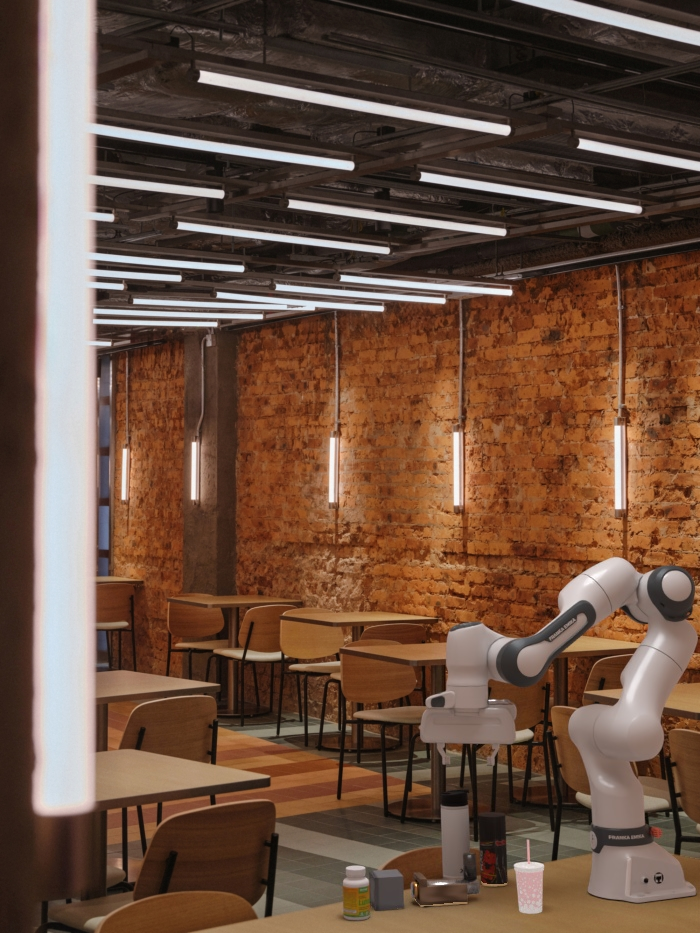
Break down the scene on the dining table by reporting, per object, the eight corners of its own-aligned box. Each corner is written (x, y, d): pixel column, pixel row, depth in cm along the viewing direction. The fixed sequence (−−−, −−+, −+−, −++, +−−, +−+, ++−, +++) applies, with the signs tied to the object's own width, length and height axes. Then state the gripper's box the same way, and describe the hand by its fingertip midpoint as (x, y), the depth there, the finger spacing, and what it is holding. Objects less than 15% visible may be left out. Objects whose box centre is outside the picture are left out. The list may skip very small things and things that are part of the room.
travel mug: (471, 884, 267) (468, 791, 269) (441, 883, 268) (438, 791, 270) (473, 877, 273) (470, 787, 275) (444, 877, 275) (442, 787, 277)
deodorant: (513, 884, 266) (510, 814, 268) (492, 888, 263) (490, 818, 264) (495, 879, 271) (493, 810, 273) (475, 883, 268) (472, 814, 269)
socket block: (397, 900, 255) (397, 869, 255) (404, 908, 248) (403, 876, 249) (369, 902, 254) (369, 871, 254) (375, 910, 247) (374, 878, 248)
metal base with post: (475, 891, 256) (474, 852, 257) (479, 895, 253) (478, 855, 254) (410, 896, 254) (409, 856, 254) (414, 900, 250) (413, 859, 251)
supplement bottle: (361, 922, 239) (360, 871, 240) (338, 918, 242) (337, 869, 243) (375, 915, 244) (373, 866, 245) (352, 912, 247) (351, 863, 248)
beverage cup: (550, 913, 242) (547, 841, 244) (520, 915, 241) (518, 843, 243) (540, 905, 248) (537, 835, 250) (511, 907, 247) (509, 837, 249)
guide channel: (460, 896, 257) (459, 869, 257) (467, 904, 251) (466, 876, 251) (414, 899, 255) (413, 872, 256) (420, 907, 249) (419, 879, 250)
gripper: (517, 698, 259) (518, 763, 257) (422, 697, 263) (423, 761, 262) (515, 700, 253) (516, 768, 251) (418, 699, 257) (419, 766, 256)
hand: (468, 765), depth 257 cm, fingers open, 8 cm apart
